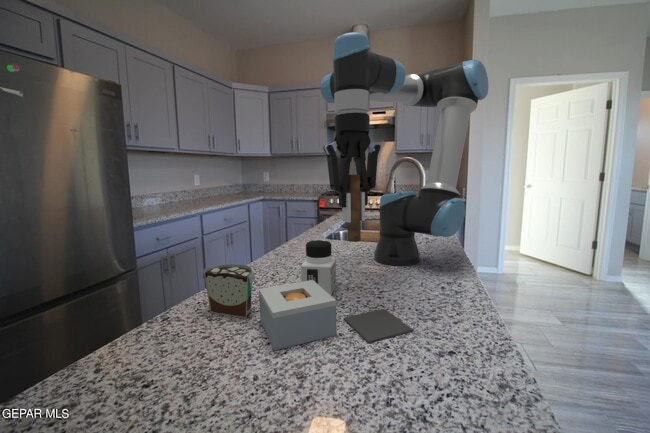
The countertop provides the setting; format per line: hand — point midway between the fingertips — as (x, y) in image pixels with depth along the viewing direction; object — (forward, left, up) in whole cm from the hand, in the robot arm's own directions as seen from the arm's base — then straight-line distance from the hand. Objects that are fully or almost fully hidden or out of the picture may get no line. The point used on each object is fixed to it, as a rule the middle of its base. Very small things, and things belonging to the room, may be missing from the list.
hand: (353, 220), depth 71 cm
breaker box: (+16, +6, -19) cm, 26 cm away
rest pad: (+1, +12, -19) cm, 23 cm away
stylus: (0, 0, -5) cm, 5 cm away
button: (+16, +6, -16) cm, 24 cm away
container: (+5, -10, -20) cm, 23 cm away
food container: (+26, -8, -20) cm, 34 cm away
